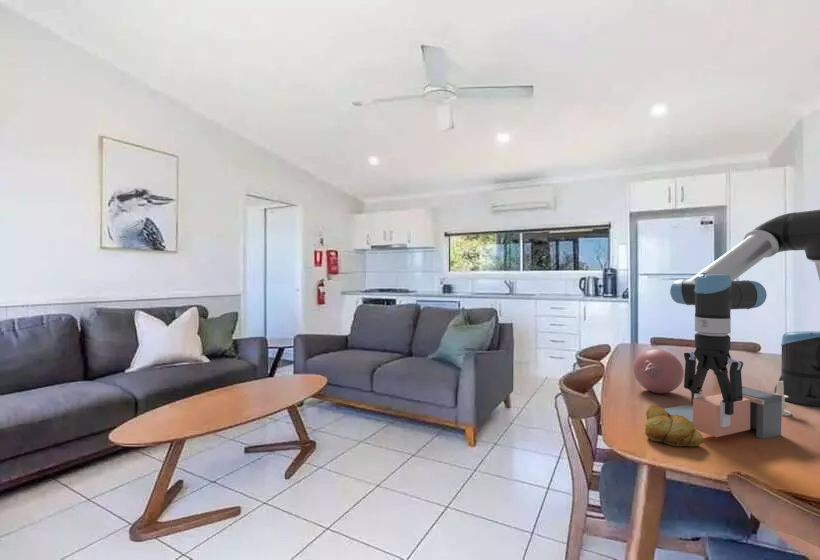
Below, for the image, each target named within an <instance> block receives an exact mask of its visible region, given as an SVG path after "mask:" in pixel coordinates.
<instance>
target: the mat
mask: <svg viewBox="0 0 820 560" xmlns="http://www.w3.org/2000/svg"><path fill="white" fill-rule="evenodd" d="M663 409H664V410H665V411H667V412H668V413H669V414H670V415H680V416H683V417H685V418H687V419H688V420H690V421H691V422H692V423H693V405H691V404H685V405H678V406H672V407H665V408H663Z"/></svg>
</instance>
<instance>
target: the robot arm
mask: <svg viewBox="0 0 820 560" xmlns="http://www.w3.org/2000/svg"><path fill="white" fill-rule="evenodd" d="M787 251H804V254H805V257H806V259H807V260H809V261H811V262H813V263H815V264H814V265H815V269H816V272H817V276H818V280H819V281H820V209H816V210H815V209H814V210H808V211H807V210H806V211H799V212H795V211H794V212H790V213H784V214H781V215H779V216H776V217H773V218H772V219H769V220H767V221H764V222H763V223H761V224H760V225H758V226H756V227H754V228H753V229H752V230H750V231H749V232H747V233H746V234H745V235H744V237H743V240H742V241H740V242H739V243H738V244H736V245H735V246H734V247H732V248H731V249H729V251H727V252H725V253H724V254H722V255H721V256H720V257H719V258H717V259H716V260H714V261H713V262H712V263H710V264H709V265H708V266H706V267H705V268H703V269H702V270H701V271H699V272H698V273H696V274H695V275H693V276H692V277H691V278H688V279H687V278H683V279H677V280H675V281H674V282H673V283H672V284H671V286H670V290H669V293H670V296H671V299H672V300H673V302H675V303H677V304H681V305H686V306H695V307H694V309H695V310H694V311H695V312H694V331H695V334H694V346H695V349H694V352H693V351H690V352H689V351H687V352H684V353H683V357H684V360H685V363H684V364H685V365H684V376H683V388H685V389H686V390H689V391H690V392H691V404H692V405H693V399H695V398H701V397H705V394H704V393H705V392H703V390H702V389H703V386H704V382H705V379H706V377H707V374H708V371H710V370H711V371H713V374H714V375H715V376H716V379H717V384H718V385H719V386H718V387H719V388H720V389H719V391H720V390H721V393H722V397H723V400H722V401H720V427H728V426H730V415H732V414H733V413H734V411H733V410H734V402H737V401H742V400H743V394H742V386H743V383H742V371H743V370H742V368H743V367H744V363H743V361H741V360H739V361H738V360H735V359H733V358H732V357H731V355H730V350H731V336H730V335H729V334H731V310H752V309H754V308H759V307H761V306H762V305H764V303H765V302H766V300H767V295H768V294H767V290H766V288H765V287H764V285H762V284H761V283H760V282H758V281H756V280H736V279H738V278H740V276H742V275H743V274H745V272H747V271H748V270H750V269H751V268H752V267H754V266H755V265H756V264H758V263H760V262H761V261H763V259H765V258H771V257H773V256H775V255H776V254H777V253H782V252H787ZM780 346H781V362H780V363H781V369H780V370H781V373H780V376H779V378H778V380H777V381H783V385H784V395H787V396H788V398H785V402H789V403H794V404H799V405H804V406H810V407H811V406H812V407H820V330H819V331H818V330H817V331H814V330H811V331H809V330H808V331H788V332H785V333H783V334H782V338H781V344H780ZM697 362H698V363H697ZM727 366H728V367H727ZM728 368H729V370H728ZM728 375H729V376H728ZM773 391H774V393H773V394H776V391H777V383H776V385H775V386H774V389H773Z"/></svg>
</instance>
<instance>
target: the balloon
mask: <svg viewBox="0 0 820 560" xmlns="http://www.w3.org/2000/svg"><path fill="white" fill-rule="evenodd" d="M633 374H634V377H635V379H636V381H637V382H638V383H639V385H640V386H642V387H643V389H645V390H647V391H650V392H652V393H656V394H667V393H670V392H673V391H674V390H676V389H678V388H679V386H680V385H681V384H682V382H683V381H684V377H685V370H684V366H683V365H682V362H680V360H679V358H677V357H676V355H674V354H672V353H671V352H669V351H667V350H664V349H660V348H659V349H658V348H657V349H656V348H655V349H648V350H646V351H644V352H642V353H640V354H639V355H638V356H637V357H636V359H635V361H634V363H633Z"/></svg>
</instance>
